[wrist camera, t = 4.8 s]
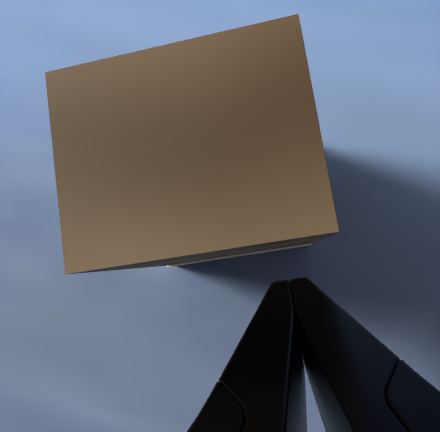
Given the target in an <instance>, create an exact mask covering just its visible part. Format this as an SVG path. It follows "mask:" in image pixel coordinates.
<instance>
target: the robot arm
mask: <svg viewBox="0 0 440 432" xmlns="http://www.w3.org/2000/svg"><path fill="white" fill-rule="evenodd" d="M290 287H291V288H290ZM301 349H302V350H301ZM302 355H303V356H302ZM303 360H304V362H303ZM304 364H305V368H306V372H307V375H308V378H309V381H310V384H311V388H312V391H313V394H314V397H315V400H316V403H317V406H318V409H319V412H320V415H321V418H322V421H323V424H324V427H325V430H326V432H440V391H438V390H437V389H436V388H435V387H434V386H432V385H431V384H430V383H429V382H428V381H426V380H425V379H424V378H423V377H421V376H420V375H419V374H418V373H417V372H415V371H414V370H413V369H412V368H411V367H410V366H409V365H407V364H406V363H405V362H404V361H403V360H400V359H399V357H397V356H396V355H395V354H394V353H393V352H392V351H390V350H389V349H388V348H387V347H386V346H385V345H384V344H382V343H381V342H380V341H379V340H378V339H377V338H376V337H374V336H373V335H372V334H371V333H370V332H369V331H368V330H366V329H365V328H364V327H363V326H362V325H361V324H359V323H358V322H357V321H356V320H355V319H354V318H353V317H351V316H350V315H349V314H348V313H347V312H346V311H345V310H343V309H342V308H341V307H340V306H339V305H338V304H337V303H335V302H334V301H333V300H332V299H331V298H330V297H328V296H327V295H326V294H325V293H324V292H323V291H322V290H320V289H319V288H318V287H317V286H316V285H315V284H314V283H312V282H311V281H310V280H309V279H308V278H306V277H303V278H297V279H291V280H290V283H289V281H288V280H283V281H277V282H273V283H272V284H271V285H270V287H269V289H268V291H267V293H266V294H265V296H264V298H263V300H262V302H261V304H260V305H259V307H258V309H257V311H256V313H255V315H254V316H253V318H252V320H251V322H250V324H249V325H248V327H247V329H246V331H245V333H244V335H243V336H242V338H241V340H240V342H239V344H238V346H237V347H236V349H235V351H234V353H233V355H232V357H231V358H230V360H229V362H228V364H227V366H226V367H225V369H224V371H223V373H222V375H221V377H220V378H219V382H217V383H216V385H215V387H214V388H213V390H212V392H211V394H210V396H209V397H208V399H207V401H206V403H205V404H204V406H203V408H202V409H201V411H200V413H199V414H198V416H197V418H196V419H195V421H194V422H193V423H192V425H191V426H190V428H189V429H188V431H187V432H307V417H306V392H305V372H304Z"/></svg>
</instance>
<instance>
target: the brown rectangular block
mask: <svg viewBox="0 0 440 432" xmlns="http://www.w3.org/2000/svg"><path fill="white" fill-rule="evenodd" d="M45 76H46V86H47V96H48V105H49V115H50V125H51V135H52V145H53V155H54V165H55V175H56V185H57V195H58V205H59V215H60V224H61V234H62V244H63V254H64V264H65V274H74V273H86V272H97V271H109V270H120V269H132V268H143V267H155V266H166V265H167V267H171V266H179V265H186V264H192V263H199V262H206V261H212V260H219V259H225V258H232V257H238V256H245V255H251V254H258V253H264V252H271V251H278V250H284V249H291V248H297V247H304V246H310V245H312V244H311V243H312V242H315V241H317V240H320V239H322V238H325V237H327V236H330V235H332V234H335V233H337V232H339V228H338V223H337V218H336V212H335V207H334V202H333V196H332V191H331V185H330V180H329V175H328V169H327V164H326V159H325V153H324V148H323V143H322V137H321V132H320V127H319V121H318V116H317V111H316V105H315V100H314V95H313V89H312V84H311V79H310V73H309V68H308V63H307V57H306V52H305V47H304V41H303V36H302V31H301V25H300V20H299V14H296V15H292V16H288V17H283V18H279V19H275V20H270V21H266V22H262V23H257V24H253V25H249V26H244V27H240V28H236V29H232V30H227V31H223V32H219V33H214V34H210V35H206V36H201V37H197V38H193V39H188V40H184V41H180V42H175V43H171V44H167V45H162V46H158V47H154V48H149V49H145V50H141V51H136V52H132V53H128V54H123V55H119V56H115V57H110V58H106V59H102V60H97V61H93V62H89V63H84V64H80V65H76V66H72V67H67V68H63V69H59V70H54V71H50V72H46V73H45Z"/></svg>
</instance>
